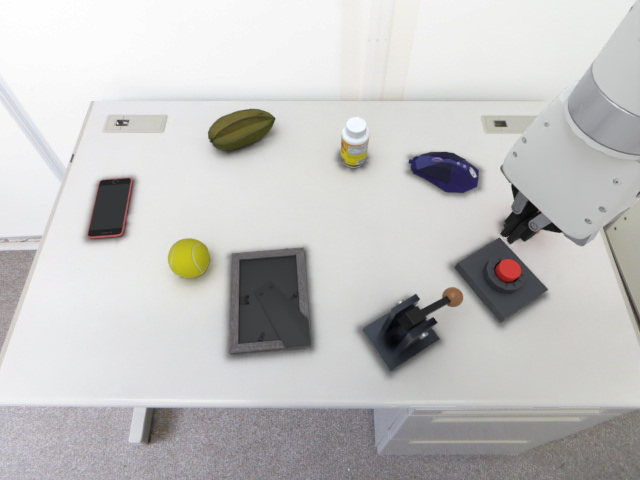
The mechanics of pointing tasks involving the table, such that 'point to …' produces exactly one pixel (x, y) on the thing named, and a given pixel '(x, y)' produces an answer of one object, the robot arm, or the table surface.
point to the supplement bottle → (354, 142)
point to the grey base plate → (493, 290)
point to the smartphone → (110, 208)
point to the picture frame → (268, 301)
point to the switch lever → (430, 309)
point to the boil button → (508, 270)
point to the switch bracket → (400, 335)
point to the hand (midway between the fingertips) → (514, 233)
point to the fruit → (240, 129)
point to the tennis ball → (188, 258)
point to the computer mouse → (446, 171)
